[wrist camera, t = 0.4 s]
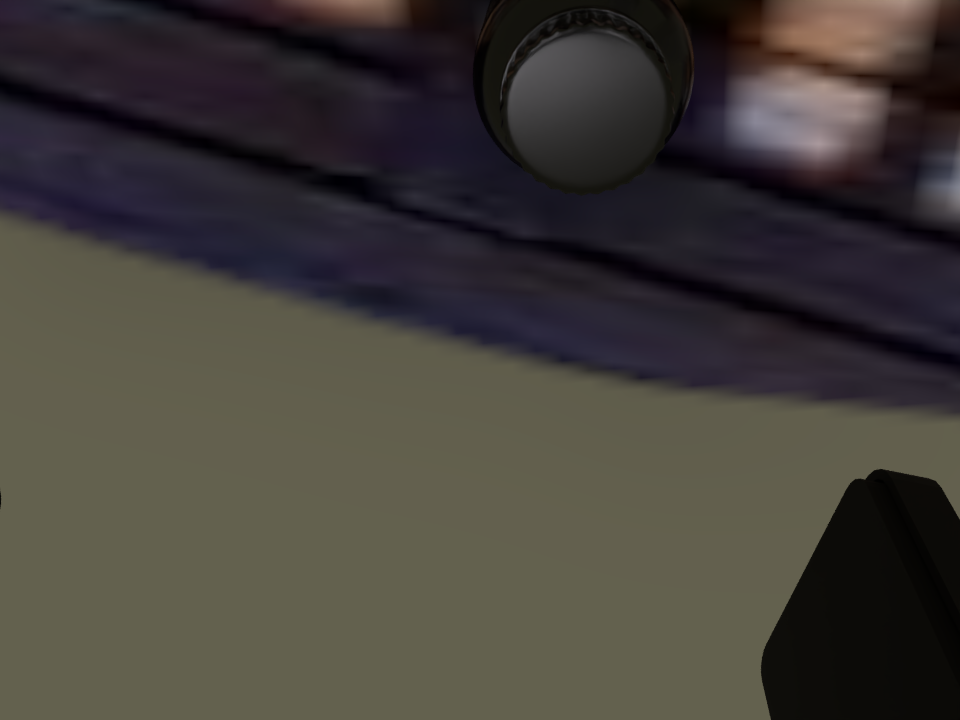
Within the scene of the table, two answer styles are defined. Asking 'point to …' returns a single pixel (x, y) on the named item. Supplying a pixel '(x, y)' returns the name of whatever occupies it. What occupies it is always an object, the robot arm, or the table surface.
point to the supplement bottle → (583, 86)
